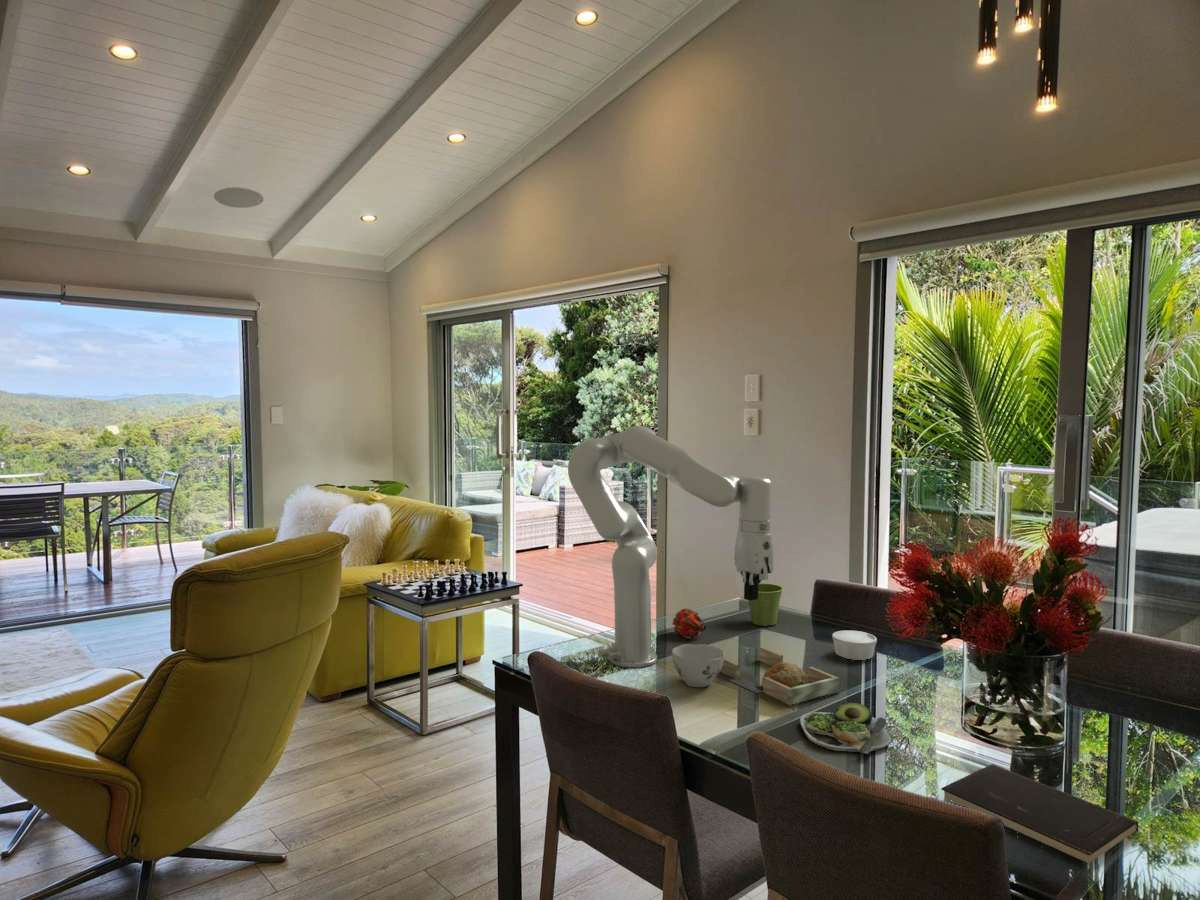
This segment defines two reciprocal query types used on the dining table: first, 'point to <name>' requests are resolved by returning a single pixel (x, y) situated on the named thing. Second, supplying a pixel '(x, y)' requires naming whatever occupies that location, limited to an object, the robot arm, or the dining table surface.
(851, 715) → the avocado toast plate
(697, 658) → the teacup
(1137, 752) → the dining table surface
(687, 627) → the dragon fruit
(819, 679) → the beige shallow tray
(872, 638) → the ramekin
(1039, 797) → the hardcover book
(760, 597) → the plant pot
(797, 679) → the bread roll
